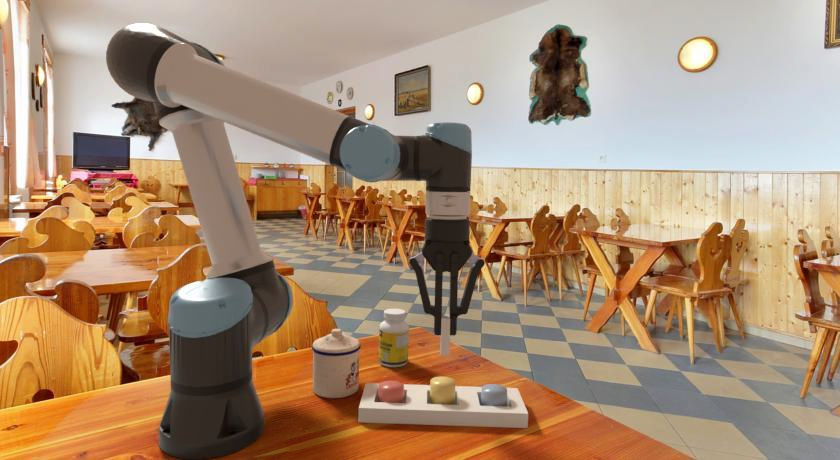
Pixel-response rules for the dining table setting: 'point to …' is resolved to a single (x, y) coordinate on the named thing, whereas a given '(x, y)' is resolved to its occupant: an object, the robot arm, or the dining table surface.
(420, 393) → the panel
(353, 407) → the dining table surface
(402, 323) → the pill bottle
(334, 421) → the dining table surface
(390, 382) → the red button
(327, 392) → the teacup with lid
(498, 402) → the blue button
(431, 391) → the mustard button
